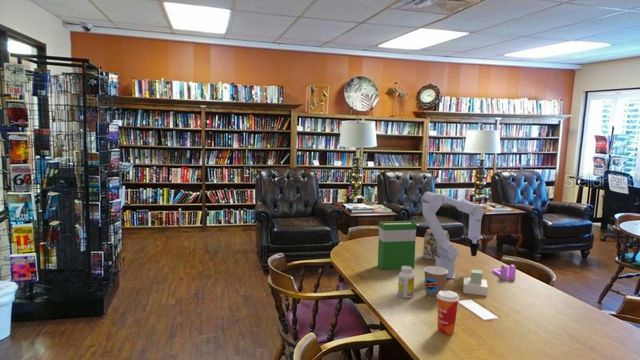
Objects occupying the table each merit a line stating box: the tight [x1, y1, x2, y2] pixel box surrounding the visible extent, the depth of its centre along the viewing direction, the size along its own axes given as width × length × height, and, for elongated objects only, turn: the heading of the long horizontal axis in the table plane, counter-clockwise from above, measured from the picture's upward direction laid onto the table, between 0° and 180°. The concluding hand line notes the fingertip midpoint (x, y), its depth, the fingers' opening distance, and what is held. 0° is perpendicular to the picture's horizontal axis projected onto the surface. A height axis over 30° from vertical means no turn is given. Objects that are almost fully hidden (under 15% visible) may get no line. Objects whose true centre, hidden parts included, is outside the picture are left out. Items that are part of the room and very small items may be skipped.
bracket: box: [492, 264, 516, 281], centre depth 212 cm, size 13×6×7 cm, turn 7°
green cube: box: [470, 269, 483, 284], centre depth 190 cm, size 4×4×5 cm
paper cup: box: [437, 290, 460, 336], centre depth 150 cm, size 8×8×14 cm
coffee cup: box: [423, 265, 448, 300], centre depth 182 cm, size 10×10×12 cm
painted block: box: [462, 276, 489, 297], centre depth 191 cm, size 10×10×4 cm
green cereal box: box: [377, 220, 417, 271], centre depth 221 cm, size 18×7×24 cm, turn 102°
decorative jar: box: [422, 228, 450, 261], centre depth 239 cm, size 12×12×18 cm
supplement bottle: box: [397, 266, 415, 299], centre depth 182 cm, size 7×7×13 cm
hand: (473, 253), depth 213 cm, fingers open, 7 cm apart
